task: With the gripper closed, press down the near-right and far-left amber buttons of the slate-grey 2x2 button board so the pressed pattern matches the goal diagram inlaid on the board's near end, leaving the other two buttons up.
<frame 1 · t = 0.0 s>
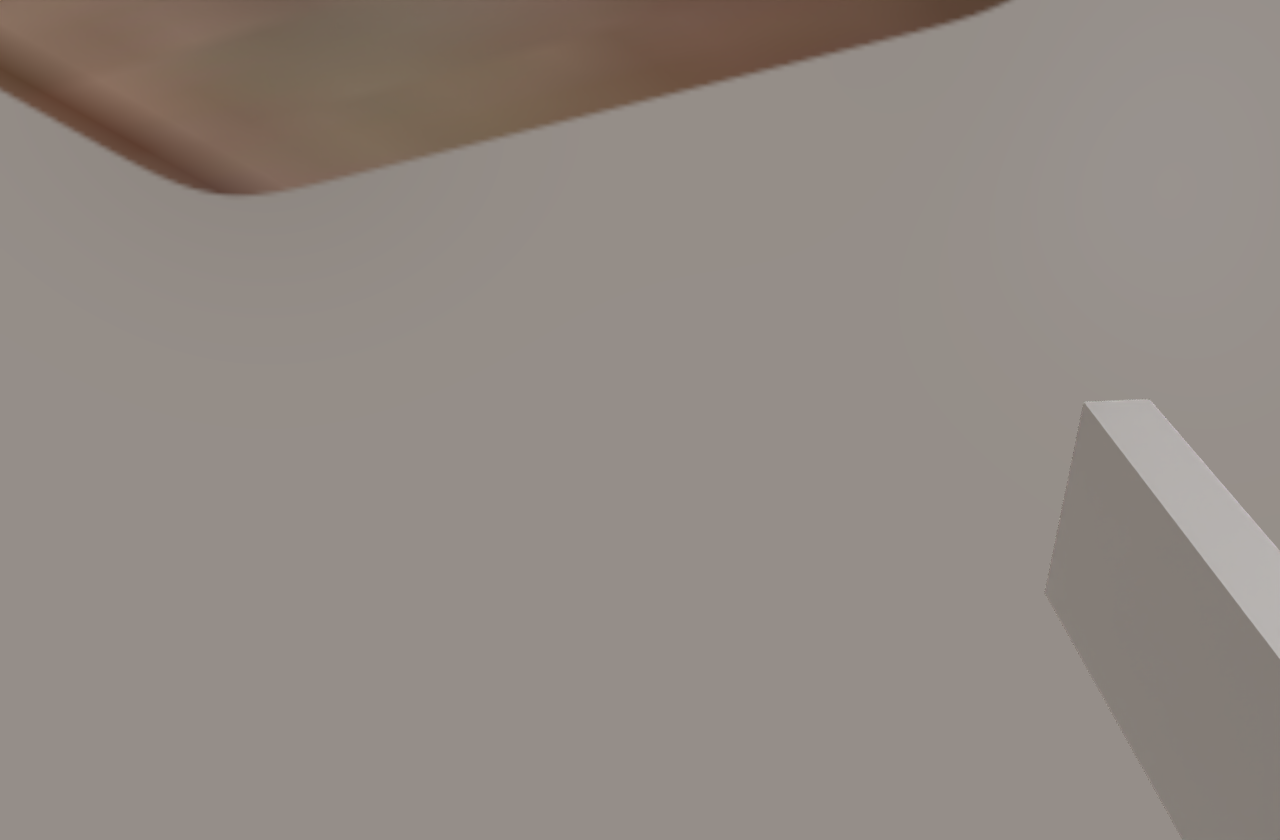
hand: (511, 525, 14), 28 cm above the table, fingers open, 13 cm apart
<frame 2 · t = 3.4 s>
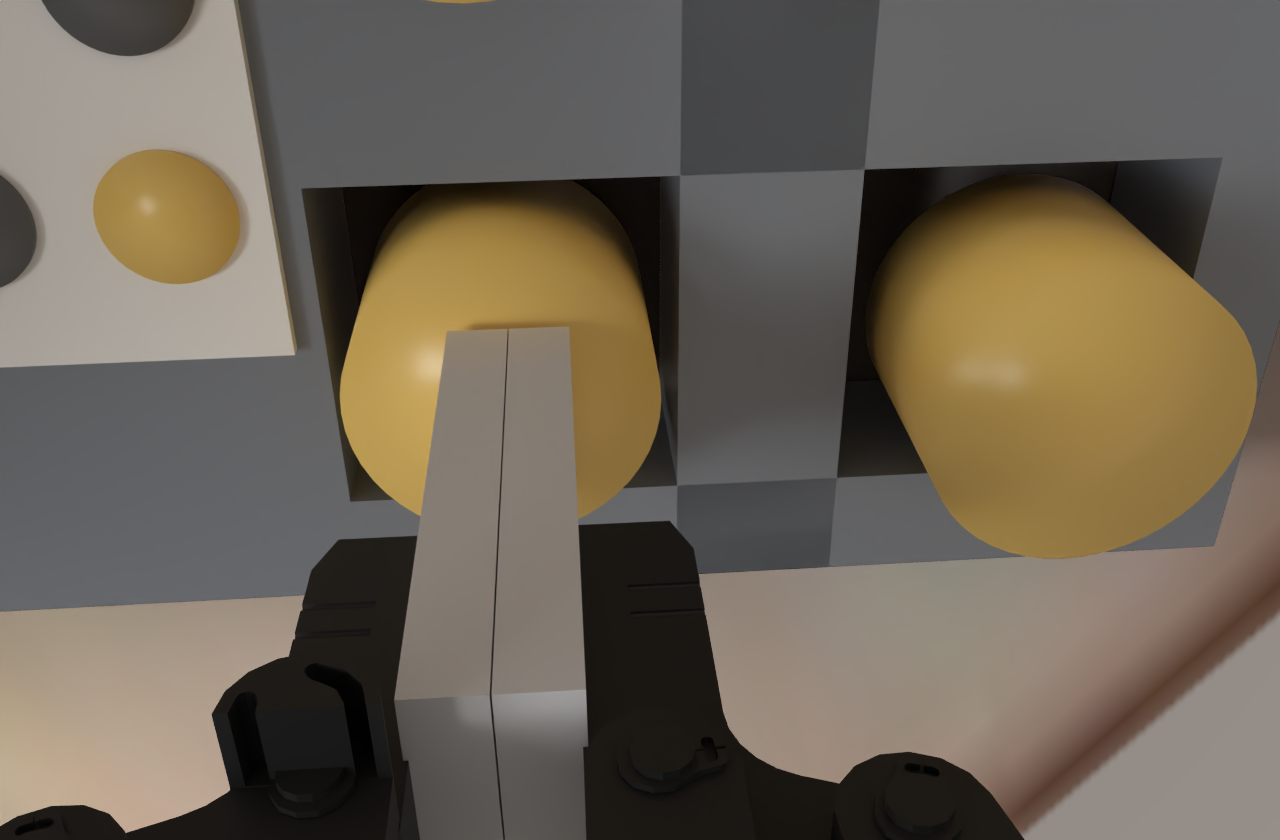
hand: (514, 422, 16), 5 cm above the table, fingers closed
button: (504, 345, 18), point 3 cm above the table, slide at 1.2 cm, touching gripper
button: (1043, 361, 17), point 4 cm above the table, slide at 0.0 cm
board: (593, 28, 18), on the table
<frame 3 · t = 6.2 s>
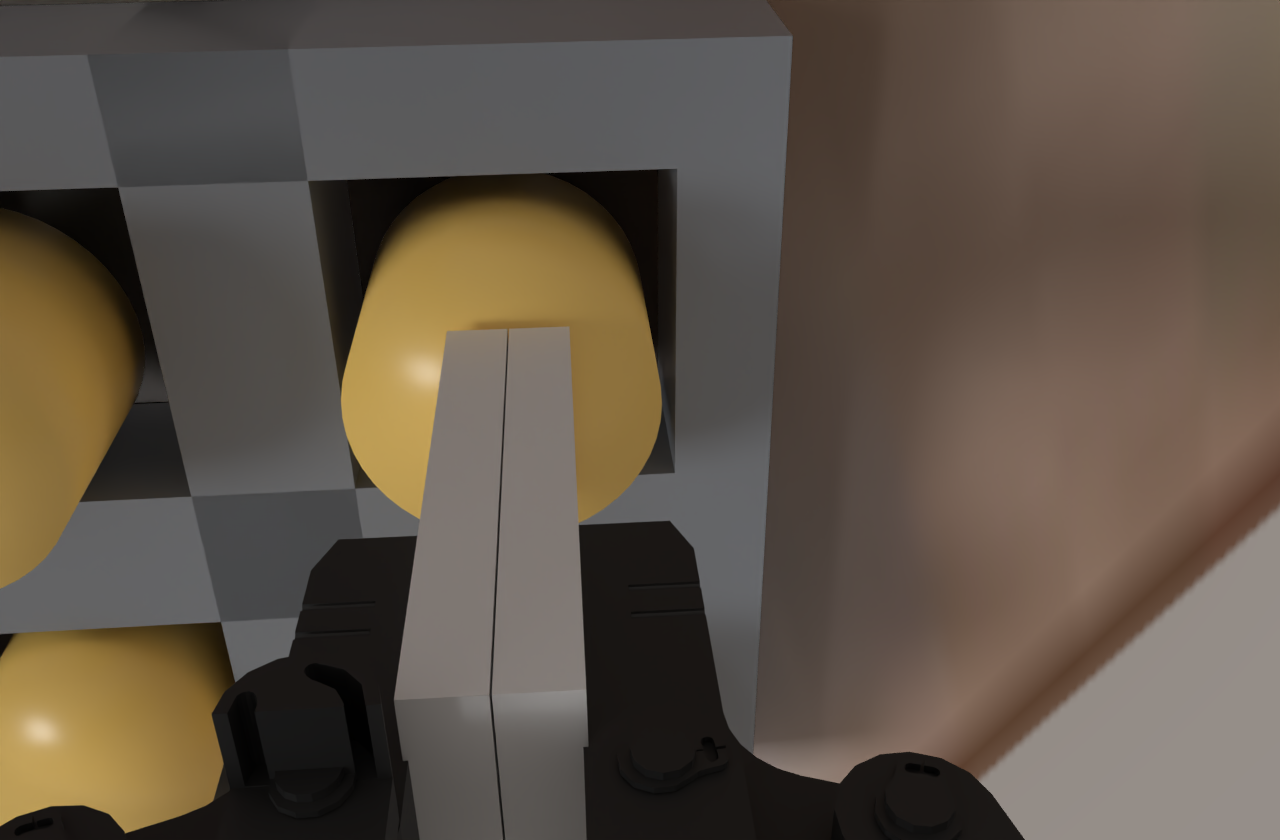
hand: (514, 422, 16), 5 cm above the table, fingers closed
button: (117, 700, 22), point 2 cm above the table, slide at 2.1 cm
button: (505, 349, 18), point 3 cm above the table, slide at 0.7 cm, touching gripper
board: (187, 462, 22), on the table
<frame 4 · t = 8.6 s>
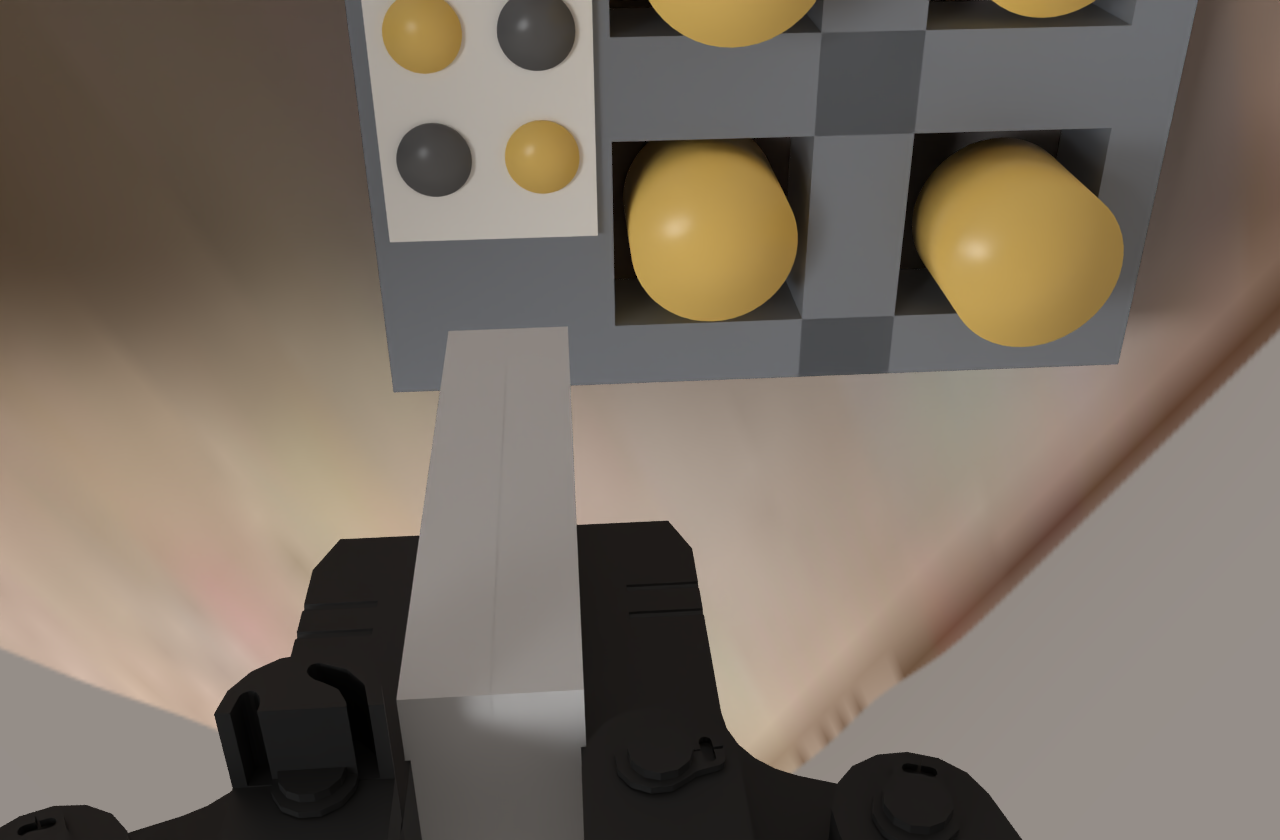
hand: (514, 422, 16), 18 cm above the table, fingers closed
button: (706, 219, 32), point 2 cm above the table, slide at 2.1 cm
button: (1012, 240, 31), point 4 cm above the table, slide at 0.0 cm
board: (757, 54, 32), on the table
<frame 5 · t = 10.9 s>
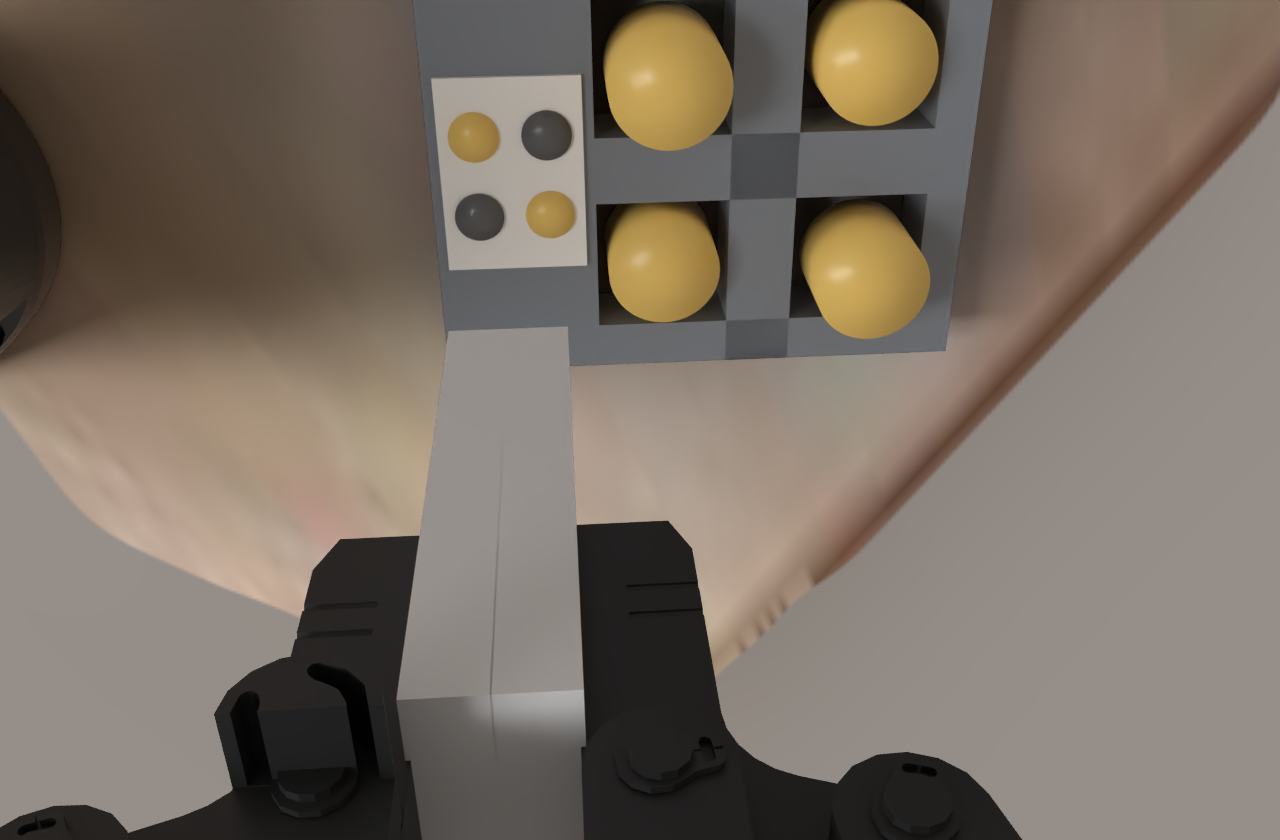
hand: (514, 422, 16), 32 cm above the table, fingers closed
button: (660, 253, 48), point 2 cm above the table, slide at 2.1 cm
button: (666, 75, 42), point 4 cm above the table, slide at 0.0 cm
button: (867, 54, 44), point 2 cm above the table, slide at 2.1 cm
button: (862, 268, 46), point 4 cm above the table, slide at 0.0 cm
board: (695, 142, 48), on the table
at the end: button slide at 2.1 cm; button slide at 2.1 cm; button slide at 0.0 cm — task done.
